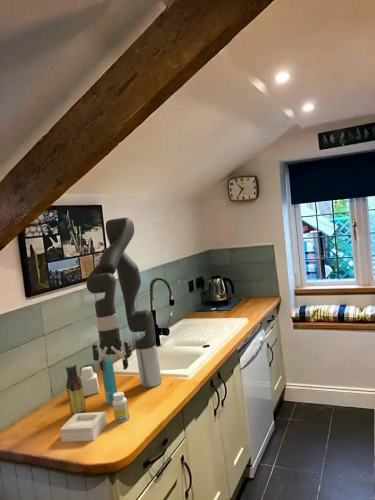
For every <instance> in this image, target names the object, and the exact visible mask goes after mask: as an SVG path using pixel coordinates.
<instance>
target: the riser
mask: <svg viewBox="0 0 375 500" xmlns="http://www.w3.org/2000/svg"><path fill="white" fill-rule="evenodd" d="M106 415H107V414H106V411H95V412H85V413H75V414H74V415H72V416H71V417H70V418H69V419H68V421H67V422H65V424H63V426H62V427H61V428H59V431H60V438H61V443H66V442H67V443H68V442H85V441H86V442H90V441H92V442H93V441H95V440H96V439H97V438H98V437H99V435H100V434H101V432H102V431H103V430H104V428H106V425H108V421H107V416H106Z"/></svg>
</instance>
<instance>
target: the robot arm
mask: <svg viewBox="0 0 375 500" xmlns="http://www.w3.org/2000/svg"><path fill="white" fill-rule="evenodd" d="M105 233H106V237H107V240H108V243H109V246H108V247H107V248H106V249H105V250H104V251H103V253H102V254H101V257H100V259H99V261H98V264H97V265H96V266H95V267H94V268H93V270H92V271H91V272H90V274H89V275H88V277H87V278H86V279H87V280H86V284H85V285H86V288H87V291H88V292H89V293H91V294H104V297H103V298H101V299H98V300H96V301H95V302H94V307H95V316H96V328H97V331H98V339H99V342H100V343H98V342H96V343H94V344H93V345H92V347H91V348H92V357H93V360H94V361H97V362H98V363H99V364H98V365H99V368H100V370H101V372H102V371H105V370H106V366H105V360H104V357H107V356H110V355H117V356H118V357H120V358H121V359H122V367H123V370H124V371H127V369H128V367H129V360H128V359H129V358H131V356H132V355H133V353H132V349H131V343H130V340H128V339H127V340H125V341H122V340H121V335H120V328H119V327H120V326H119V322H118V316H117V311H116V305H115V297H116V296H115V293H116V287H117V280H116V277H115V275H114V274H115V273H117V277H118V281H119V286H120V289H121V293H122V298H123V303H124V309H125V317H126V322H127V326H128V328H129V331H130V332H132V333H142V332H144V336H143V337H140V338H138V339H136V340H135V341H134V348H135V354H136V360H137V367H138V373H139V379H140V386H141V387H142V388H145V389H146V388H154V387H156V386H159V385H160V384H162V376H161V369H160V361H159V355H158V349H157V343H156V341H157V339H156V331H155V320H154V316H153V312H152V311H151V310H148V309H143V310H136V306H135V305H136V304H135V302H136V298H137V295H138V292H139V291H140V288H141V284H142V279H141V275H140V269H139V267H138V265H137V263H136V262H135V261H134V260H133V259H132V257H130V256H129V255H128V253H126V251H125V250H126V249H127V248H128V245H129V244H130V242H131V240H132V238H133V237H134V234H135V225H134V222H133V220H132V219H131V218H130V217H119V218H113V219H109V220H107V221H106V222H105ZM122 347H123V348H124V349H122ZM99 349H101V350H102V351H101V354H100V352H99Z"/></svg>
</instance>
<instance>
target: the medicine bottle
mask: <svg viewBox="0 0 375 500" xmlns="http://www.w3.org/2000/svg"><path fill="white" fill-rule="evenodd" d="M79 372H80V379H81V381H82V386H83V392H84V397H88V396H92V394H93V395H96V393H97V394H100V388H99V386H100V385H99V380H98V375H97V373H96V372H95V366H94V365H93V364H86V365H83V366H81V367H80V369H79Z"/></svg>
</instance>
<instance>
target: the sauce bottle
mask: <svg viewBox="0 0 375 500" xmlns="http://www.w3.org/2000/svg"><path fill="white" fill-rule="evenodd" d="M65 370H66V374H67V375H66V376H67V379H66V385H65V388H66V394H67V399H68V401H67V402H68V406H69V411H70V414H71V415H72V416H73V415H74V414H75V413H87V405H86V399H85V397H86V396H84V392H83V386H82V381H81V377H80V376H78V371H77V364H76V363H70V364H67V365H66V366H65Z"/></svg>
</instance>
